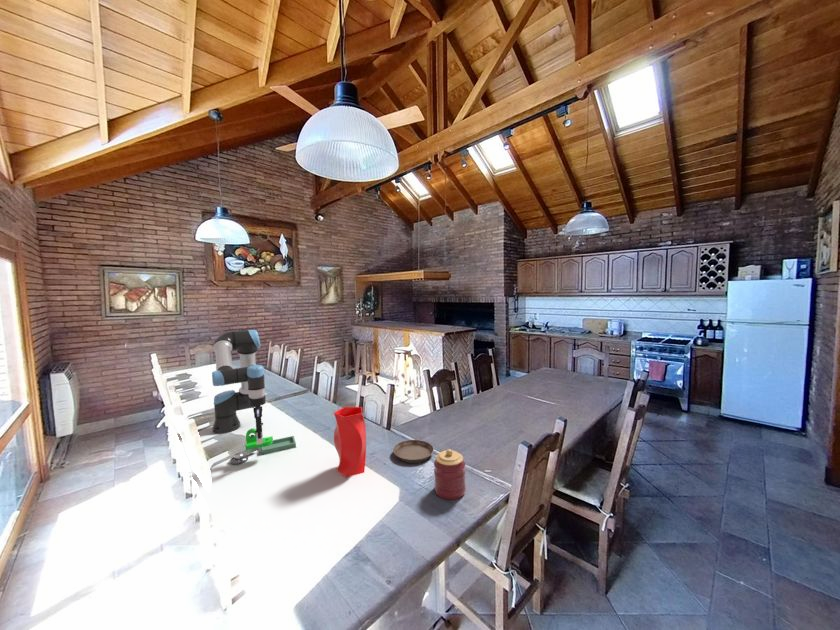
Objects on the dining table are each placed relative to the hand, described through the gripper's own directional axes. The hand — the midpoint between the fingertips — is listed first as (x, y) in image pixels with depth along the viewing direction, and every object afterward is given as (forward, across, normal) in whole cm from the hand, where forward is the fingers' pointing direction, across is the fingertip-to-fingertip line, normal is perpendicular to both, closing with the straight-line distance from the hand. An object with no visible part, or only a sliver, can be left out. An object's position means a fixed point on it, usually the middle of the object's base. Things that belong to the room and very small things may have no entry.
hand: (259, 440), depth 163 cm
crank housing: (+10, -5, -10) cm, 15 cm away
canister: (+9, +69, +70) cm, 99 cm away
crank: (+9, -8, -7) cm, 13 cm away
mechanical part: (+2, 0, 0) cm, 2 cm away
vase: (+10, +32, +38) cm, 51 cm away
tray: (+11, -11, +9) cm, 18 cm away
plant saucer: (+10, +34, +70) cm, 78 cm away
